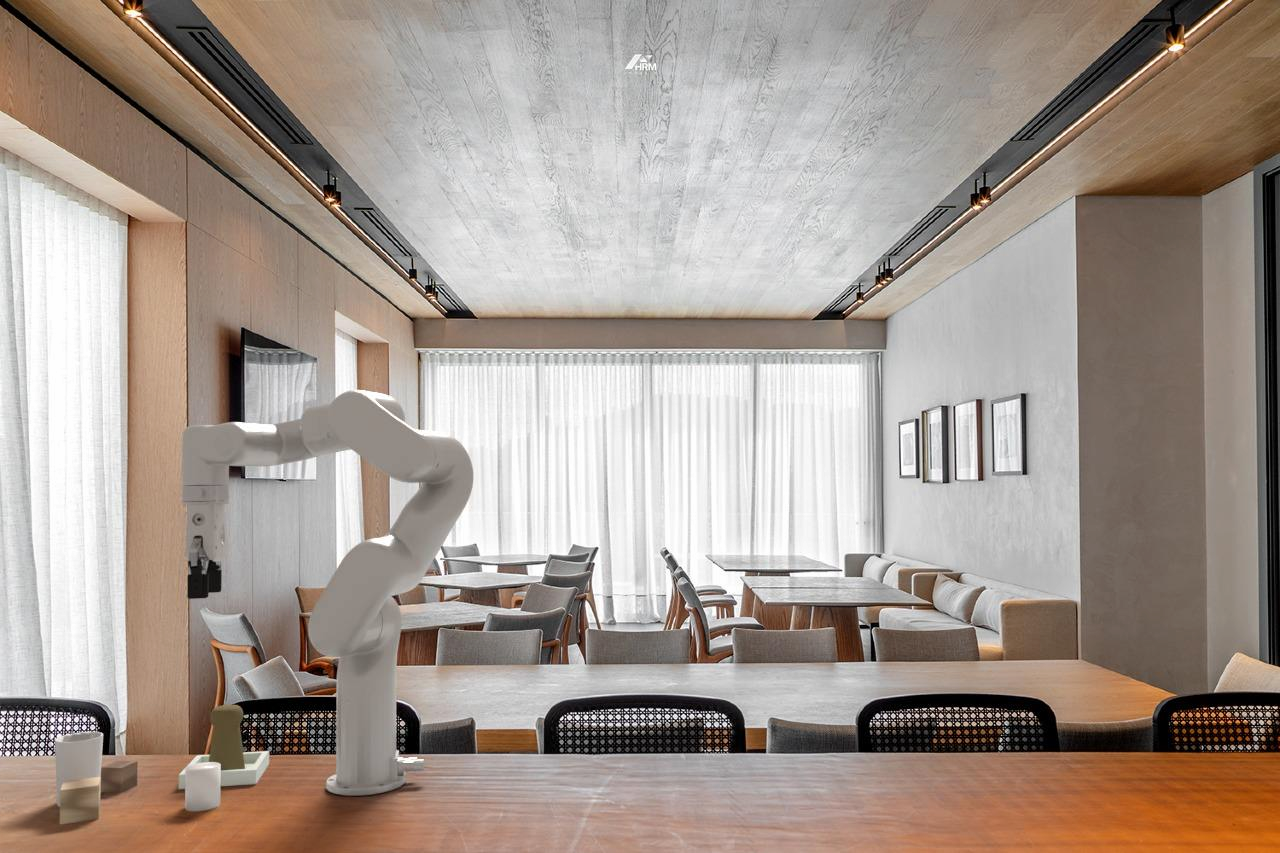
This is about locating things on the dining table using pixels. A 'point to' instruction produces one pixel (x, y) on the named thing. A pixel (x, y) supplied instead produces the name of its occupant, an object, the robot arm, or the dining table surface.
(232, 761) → the olive rounded tall piece
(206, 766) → the white rounded cylinder
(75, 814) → the oak block
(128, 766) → the walnut block
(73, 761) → the drinking glass
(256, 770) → the tray
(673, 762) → the dining table surface
